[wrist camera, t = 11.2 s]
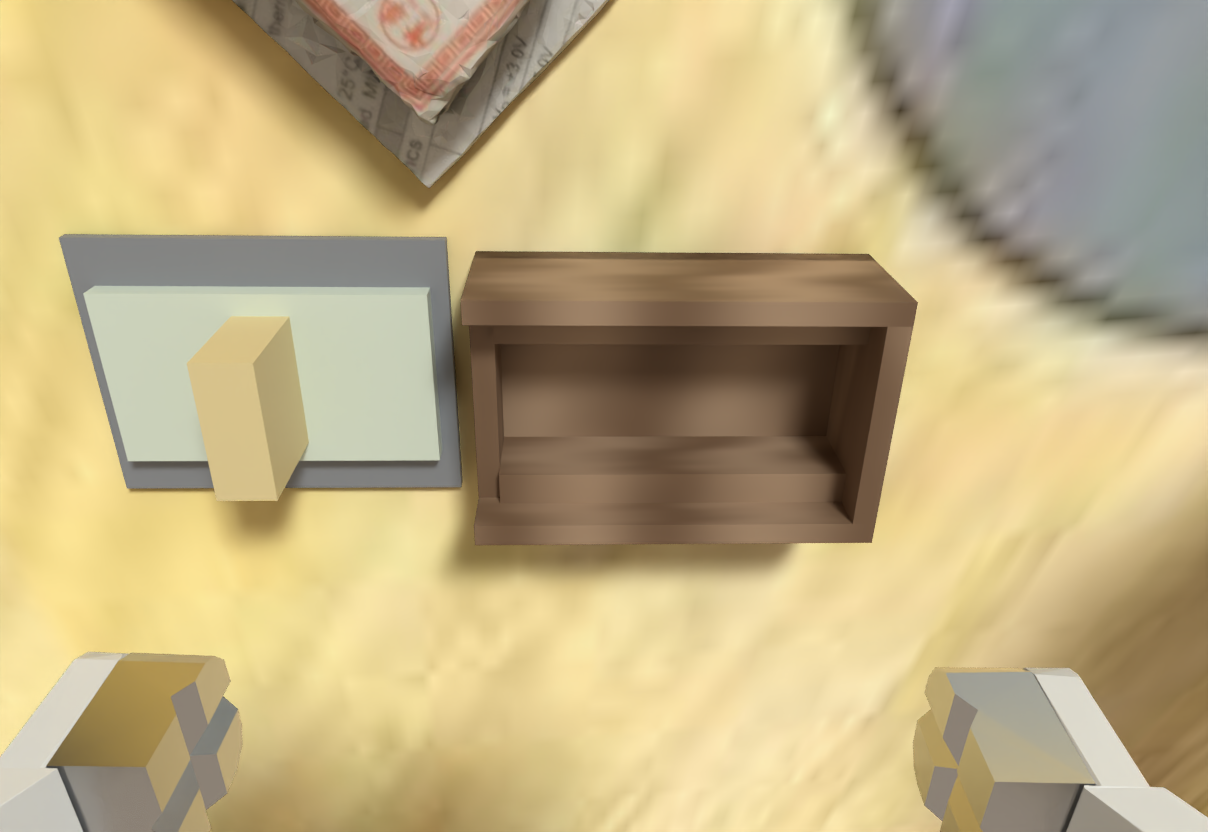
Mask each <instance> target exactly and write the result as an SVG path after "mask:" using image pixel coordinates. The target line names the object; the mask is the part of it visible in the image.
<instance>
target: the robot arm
mask: <svg viewBox="0 0 1208 832" xmlns="http://www.w3.org/2000/svg"><path fill="white" fill-rule="evenodd" d="M230 681H231V680H230V677H229V674H228V671H227V668H226V665H225V661H224V659H221V658H218V657H216V656H199V655H174V654H150V653H130V654H126V653H104V652H87V653H85V654H83V655H81V656H80V657H78V658H76V659H75V660H74V661H73V662H72V663H71V664H70V665H69V667H68V668H67V669H66V671H65V672H64V673H63V675H62V676H61V677H60V679H59V680H58V681H57V683H56V684H55V685H54V687H53V688H52V689H51V690H50V692H49V693H48V694H47V696H46V697H45V698H44V700H43V701H42V702H41V704H40V705H39V706H38V708H37V709H36V710H35V712H34V713H33V714H32V716H31V717H30V718H29V719H28V721H27V722H26V723H25V725H24V726H23V727H22V729H21V730H20V731H19V733H18V734H17V735H16V737H15V738H14V739H13V741H12V742H11V743H10V744H9V746H8V747H7V748H6V750H5V751H4V752H3V754H2V755H1V756H0V832H210V830H211V825H210V822H209V819H208V815H207V812H206V810H207V809H208V808H209V807H210V806H212V805H213V804H214V803H215V802H217V801H218V800H219V799H221V798H222V797H223V796H224V795H226V794H227V793H228V790H229V788H230V786H231V783H232V781H233V779H234V776H235V774H236V772H237V768H238V763H239V758H240V753H241V748H242V724H241V720H240V715H239V711H238V709H237V708H236V707H235V706H234V705H233V704H231V703H230V702H229V701H228V700H227V699H225V698H224V697H223V695H224V693H225V691H226V689H227V687H228V685H229V683H230ZM925 695H926V697H927V700H928V702H929V705H930V707H931V710H930V711H928V712H927V713H926V714H925V715H924V716H922V717H921V718H920V719H919V720H918V721H917V726H916V730H915V735H914V740H913V757H914V770H915V775H916V780H917V785H918V788H919V791H920V794H921V797H922V800H923V803H924V805H925V806H926V807H927V808H928V809H929V810H930V811H931V812H933V813H934V814H935V815H936V816H937V817H938V818H939V819H940V820H942V821H943V822H942V825H941V829H940V832H1208V817H1206V816H1205V815H1203V814H1202V813H1201V812H1199V811H1198V810H1196V809H1195V808H1193V807H1192V806H1190V805H1189V804H1188V803H1186V802H1185V801H1183V800H1182V799H1180V798H1179V797H1177V796H1176V795H1174V794H1173V793H1172V792H1170V791H1169V790H1167V789H1166V788H1164V787H1150V786H1149V784H1148V783H1147V781H1146V780H1145V778H1144V776H1143V775H1142V773H1141V772H1140V770H1139V769H1138V767H1137V765H1136V764H1135V762H1134V761H1133V759H1132V758H1131V756H1130V755H1129V753H1128V751H1127V750H1126V748H1125V747H1124V745H1123V744H1122V742H1121V740H1120V739H1119V737H1118V736H1117V734H1116V733H1115V731H1114V730H1113V728H1112V726H1111V725H1110V723H1109V722H1108V720H1107V719H1106V717H1105V715H1104V714H1103V712H1102V711H1101V709H1100V708H1099V706H1098V705H1097V703H1096V701H1095V700H1094V698H1093V697H1092V695H1091V694H1090V692H1089V690H1088V689H1087V687H1086V686H1085V684H1084V683H1083V681H1082V679H1081V678H1080V676H1079V675H1078V674H1077V673H1075V672H1074V671H1073V670H1071V669H1070V668H1023V669H1020V668H950V667H935V669H934V670H933V671H932V673H931V674H930V675H929V678H928V682H927V685H926V689H925Z"/></svg>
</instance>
